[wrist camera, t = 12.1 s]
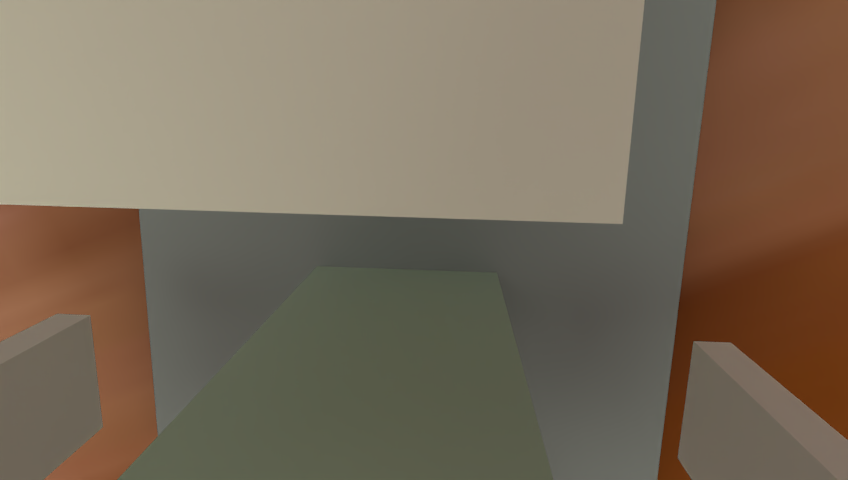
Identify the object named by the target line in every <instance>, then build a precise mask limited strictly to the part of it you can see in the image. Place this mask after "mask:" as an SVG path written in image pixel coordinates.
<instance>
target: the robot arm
mask: <svg viewBox="0 0 848 480" xmlns="http://www.w3.org/2000/svg"><path fill="white" fill-rule="evenodd" d="M102 427H103V424H102V415H101V406H100V397H99V388H98V380H97V371H96V362H95V353H94V344H93V335H92V327H91V318H90V315H73V314H56V315H54V316H52V317H50V318H48V319H46V320H44V321H42V322H40V323H38V324H36V325H34V326H32V327H30V328H28V329H26V330H23V331H21V332H19V333H17V334H15V335H13V336H11V337H9V338H7V339H5V340H3V341H1V342H0V480H43V479H45V478H46V477H47V476H48V475H49V474H50V473H51V472H53V471H54V470H55V469H56V468H57V467H58V466H59V465H60V464H62V463H63V462H64V461H65V460H66V459H67V458H68V457H70V456H71V455H72V454H73V453H74V452H75V451H76V450H77V449H79V448H80V447H81V446H82V445H83V444H84V443H85V442H87V441H88V440H89V439H90V438H91V437H92V436H93V435H95V434H96V433H97V432H98V431H99V430H100V429H101V428H102ZM678 459H679V461H680V462H681V464H682V465H683V467H684V468H685V470H686V472H687V473H688V475H689V476H690V478H691V479H692V480H848V440H847V439H846V438H844V437H843V436H842V435H841V434H840V433H838V432H837V431H836V430H835V429H834V428H832V427H831V426H830V425H829V424H828V423H826V422H825V421H824V420H823V419H822V418H820V417H819V416H818V415H817V414H816V413H814V412H813V411H812V410H811V409H810V408H808V407H807V406H806V405H805V404H804V403H802V402H801V401H800V400H799V399H798V398H797V397H795V396H794V395H793V394H792V393H791V392H789V391H788V390H787V389H786V388H785V387H783V386H782V385H781V384H780V383H779V382H777V381H776V380H775V379H774V378H773V377H771V376H770V375H769V374H768V373H767V372H765V371H764V370H763V369H762V368H761V367H759V366H758V365H757V364H756V363H755V362H753V361H752V360H751V359H750V358H749V357H747V356H746V355H745V354H744V353H743V352H741V351H740V350H739V349H738V348H737V347H735V346H734V345H733V344H732V343H727V342H703V341H693V349H692V356H691V364H690V371H689V378H688V386H687V393H686V400H685V408H684V415H683V423H682V430H681V437H680V445H679V452H678Z"/></svg>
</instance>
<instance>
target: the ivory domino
mask: <svg viewBox="0 0 848 480" xmlns="http://www.w3.org/2000/svg"><path fill="white" fill-rule="evenodd" d="M644 3H645V0H0V204H8V205H40V206H71V207H102V208H134V209H165V210H196V211H228V212H259V213H291V214H322V215H353V216H385V217H416V218H447V219H479V220H510V221H541V222H573V223H604V224H623V215H624V205H625V195H626V185H627V175H628V165H629V154H630V144H631V134H632V124H633V114H634V104H635V94H636V84H637V73H638V63H639V53H640V43H641V33H642V23H643V13H644Z"/></svg>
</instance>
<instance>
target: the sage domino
mask: <svg viewBox="0 0 848 480" xmlns="http://www.w3.org/2000/svg"><path fill="white" fill-rule="evenodd" d="M117 480H553V476H552V473H551V469H550V465H549V462H548V458H547V454H546V451H545V447H544V443H543V440H542V436H541V432H540V429H539V425H538V421H537V418H536V414H535V410H534V407H533V403H532V399H531V396H530V392H529V388H528V385H527V381H526V377H525V374H524V370H523V366H522V363H521V359H520V355H519V352H518V348H517V344H516V341H515V337H514V333H513V330H512V326H511V322H510V319H509V315H508V311H507V308H506V304H505V300H504V297H503V293H502V289H501V286H500V282H499V278H498V275H497V273H493V272H466V271H438V270H411V269H383V268H356V267H328V266H317V267H316V268H315V269H314V270H313V271H312V272H311V274H310V275H309V276H308V277H307V278H306V279H305V280H304V281H303V282H302V283H301V284H300V285H299V286H298V287H297V288H296V290H295V291H294V292H293V293H292V294H291V295H290V296H289V297H288V298H287V299H286V300H285V301H284V302H283V303H282V304H281V306H280V307H279V308H278V309H277V310H276V311H275V312H274V313H273V314H272V315H271V316H270V317H269V318H268V319H267V320H266V322H265V323H264V324H263V325H262V326H261V327H260V328H259V329H258V330H257V331H256V332H255V333H254V334H253V335H252V336H251V338H250V339H249V340H248V341H247V342H246V343H245V344H244V345H243V346H242V347H241V348H240V349H239V350H238V351H237V352H236V354H235V355H234V356H233V357H232V358H231V359H230V360H229V361H228V362H227V363H226V364H225V365H224V366H223V367H222V368H221V370H220V371H219V372H218V373H217V374H216V375H215V376H214V377H213V378H212V379H211V380H210V381H209V382H208V383H207V385H206V386H205V387H204V388H203V389H202V390H201V391H200V392H199V393H198V394H197V395H196V396H195V397H194V398H193V399H192V401H191V402H190V403H189V404H188V405H187V406H186V407H185V408H184V409H183V410H182V411H181V412H180V413H179V414H178V415H177V417H176V418H175V419H174V420H173V421H172V422H171V423H170V424H169V425H168V426H167V427H166V428H165V429H164V430H163V431H162V433H161V434H160V435H159V436H158V437H157V438H156V439H155V440H154V441H153V442H152V443H151V444H150V445H149V446H148V447H147V449H146V450H145V451H144V452H143V453H142V454H141V455H140V456H139V457H138V458H137V459H136V460H135V461H134V462H133V463H132V465H131V466H130V467H129V468H128V469H127V470H126V471H125V472H124V473H123V474H122V475H121V476H120V477H119V478H118V479H117Z"/></svg>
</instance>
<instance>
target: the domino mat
mask: <svg viewBox="0 0 848 480" xmlns="http://www.w3.org/2000/svg"><path fill="white" fill-rule="evenodd" d="M715 8H716V0H645V3H644V13H643V23H642V33H641V43H640V53H639V63H638V73H637V84H636V94H635V104H634V114H633V124H632V134H631V144H630V154H629V165H628V175H627V185H626V195H625V205H624V215H623V224H604V223H573V222H541V221H510V220H479V219H447V218H416V217H385V216H353V215H322V214H291V213H259V212H228V211H196V210H165V209H139V217H140V229H141V241H142V253H143V265H144V276H145V288H146V300H147V312H148V324H149V336H150V347H151V359H152V371H153V383H154V395H155V407H156V418H157V430H158V436H159V435H160V434H161V433H162V431H163V430H164V429H165V428H166V427H167V426H168V425H169V424H170V423H171V422H172V421H173V420H174V419H175V418H176V417H177V415H178V414H179V413H180V412H181V411H182V410H183V409H184V408H185V407H186V406H187V405H188V404H189V403H190V402H191V401H192V399H193V398H194V397H195V396H196V395H197V394H198V393H199V392H200V391H201V390H202V389H203V388H204V387H205V386H206V385H207V383H208V382H209V381H210V380H211V379H212V378H213V377H214V376H215V375H216V374H217V373H218V372H219V371H220V370H221V368H222V367H223V366H224V365H225V364H226V363H227V362H228V361H229V360H230V359H231V358H232V357H233V356H234V355H235V354H236V352H237V351H238V350H239V349H240V348H241V347H242V346H243V345H244V344H245V343H246V342H247V341H248V340H249V339H250V338H251V336H252V335H253V334H254V333H255V332H256V331H257V330H258V329H259V328H260V327H261V326H262V325H263V324H264V323H265V322H266V320H267V319H268V318H269V317H270V316H271V315H272V314H273V313H274V312H275V311H276V310H277V309H278V308H279V307H280V306H281V304H282V303H283V302H284V301H285V300H286V299H287V298H288V297H289V296H290V295H291V294H292V293H293V292H294V291H295V290H296V288H297V287H298V286H299V285H300V284H301V283H302V282H303V281H304V280H305V279H306V278H307V277H308V276H309V275H310V274H311V272H312V271H313V270H314V269H315V268H316V267H317V266H328V267H356V268H383V269H411V270H438V271H466V272H493V273H497V275H498V278H499V282H500V286H501V289H502V293H503V297H504V300H505V304H506V308H507V311H508V315H509V319H510V322H511V326H512V330H513V333H514V337H515V341H516V344H517V348H518V352H519V355H520V359H521V363H522V366H523V370H524V374H525V377H526V381H527V385H528V388H529V392H530V396H531V399H532V403H533V407H534V410H535V414H536V418H537V421H538V425H539V429H540V432H541V436H542V440H543V443H544V447H545V451H546V454H547V458H548V462H549V465H550V469H551V473H552V476H553V480H657V476H658V468H659V460H660V452H661V444H662V436H663V428H664V419H665V411H666V403H667V395H668V387H669V379H670V371H671V363H672V355H673V347H674V339H675V331H676V323H677V314H678V306H679V298H680V290H681V282H682V274H683V266H684V258H685V250H686V242H687V234H688V226H689V218H690V210H691V201H692V193H693V185H694V177H695V169H696V161H697V153H698V145H699V137H700V129H701V121H702V113H703V105H704V96H705V88H706V80H707V72H708V64H709V56H710V48H711V40H712V32H713V24H714V16H715Z"/></svg>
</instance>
